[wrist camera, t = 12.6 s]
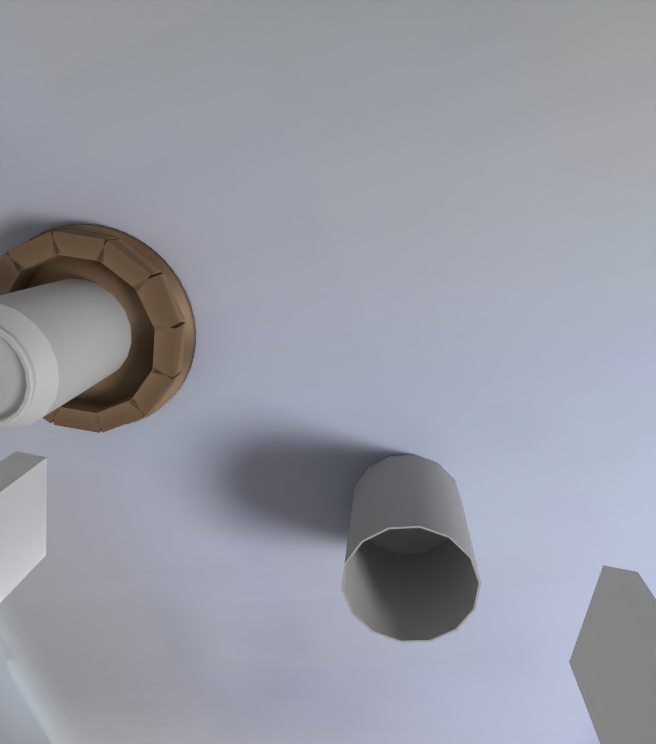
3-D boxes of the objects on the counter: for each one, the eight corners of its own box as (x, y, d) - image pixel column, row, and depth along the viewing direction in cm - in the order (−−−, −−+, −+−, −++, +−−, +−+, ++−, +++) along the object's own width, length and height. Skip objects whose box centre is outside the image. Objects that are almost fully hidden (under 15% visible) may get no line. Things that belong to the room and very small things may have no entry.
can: (103, 259, 41) (-10, 283, 29) (155, 354, 42) (67, 411, 31) (19, 302, 42) (-119, 340, 31) (72, 391, 44) (-41, 459, 32)
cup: (357, 552, 46) (348, 643, 37) (346, 459, 44) (333, 530, 35) (464, 547, 45) (484, 640, 36) (458, 451, 43) (477, 522, 34)
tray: (-1, 209, 41) (-30, 210, 39) (203, 241, 40) (188, 244, 38) (5, 403, 46) (-21, 417, 43) (188, 436, 45) (175, 452, 42)
